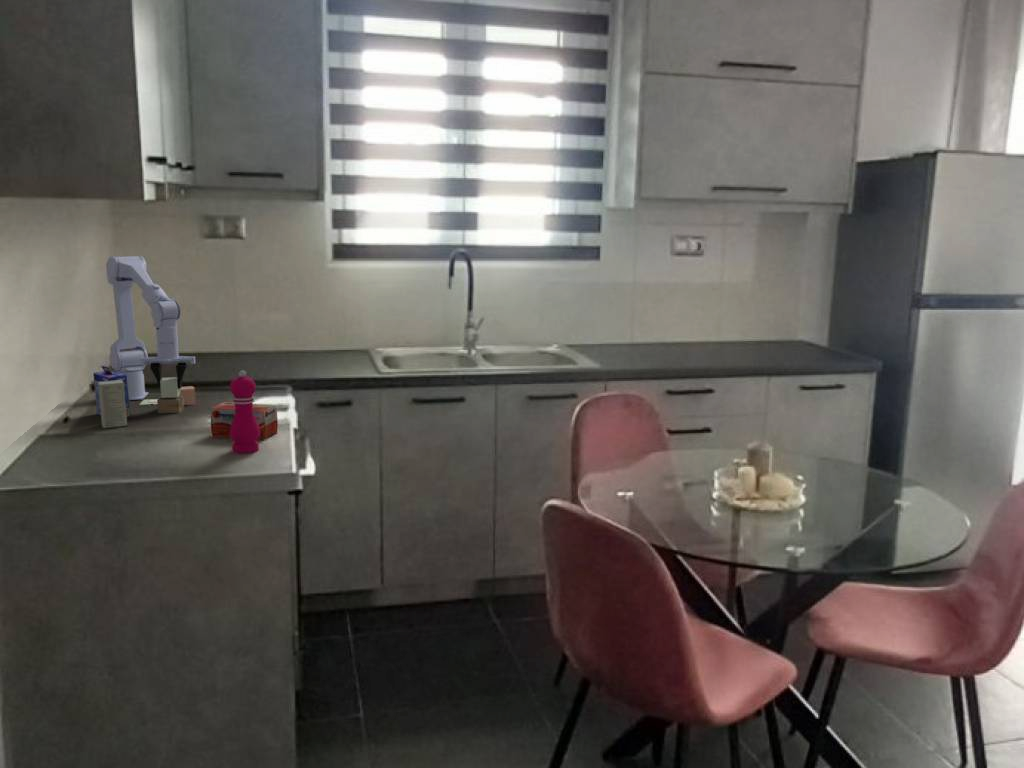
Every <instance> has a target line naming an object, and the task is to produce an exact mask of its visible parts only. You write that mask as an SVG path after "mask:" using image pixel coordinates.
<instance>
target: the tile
mask: <svg viewBox="0 0 1024 768" xmlns="http://www.w3.org/2000/svg"><path fill="white" fill-rule="evenodd" d="M158 399H159V398H158ZM158 399H157V398H155V399H154V398H152V399H151V398H150V399H145V398H144V399H142V400H141V402H140V403H139V406H158V404H157V400H158ZM151 404H153V405H151Z"/></svg>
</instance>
